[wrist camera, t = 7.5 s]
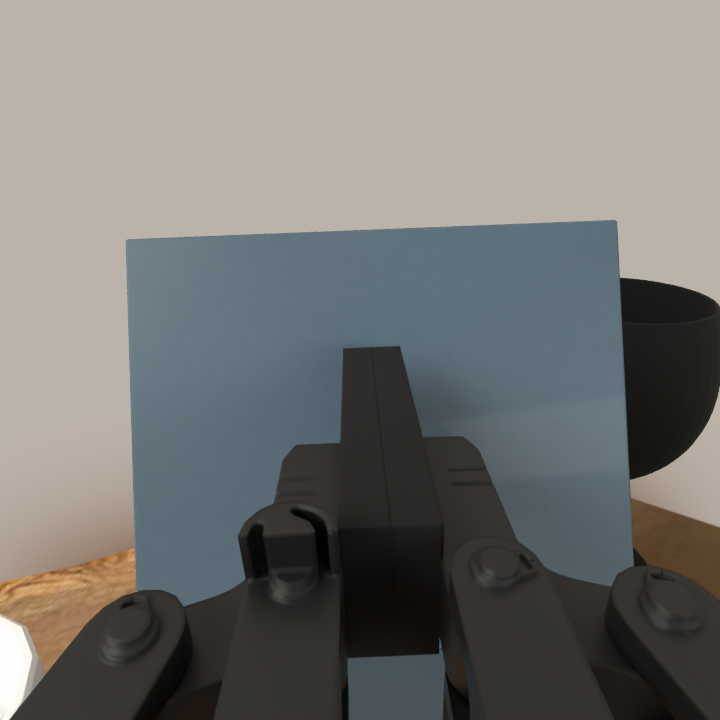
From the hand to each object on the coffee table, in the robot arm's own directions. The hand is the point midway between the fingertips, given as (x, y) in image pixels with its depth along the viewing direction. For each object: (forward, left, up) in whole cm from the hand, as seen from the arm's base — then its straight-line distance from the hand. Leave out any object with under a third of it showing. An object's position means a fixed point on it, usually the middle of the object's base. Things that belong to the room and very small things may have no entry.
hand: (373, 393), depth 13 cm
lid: (0, -1, -2) cm, 2 cm away
